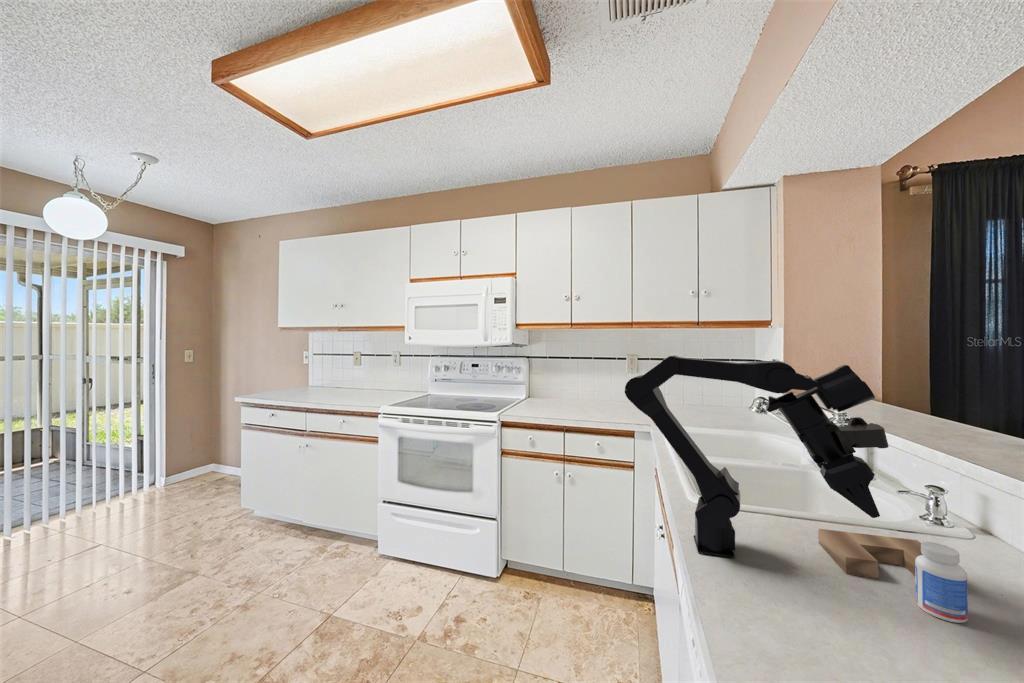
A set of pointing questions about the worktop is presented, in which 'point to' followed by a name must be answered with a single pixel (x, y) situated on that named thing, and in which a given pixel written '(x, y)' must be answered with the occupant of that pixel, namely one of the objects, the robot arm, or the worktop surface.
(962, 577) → the pill bottle
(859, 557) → the notched board
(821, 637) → the worktop surface
